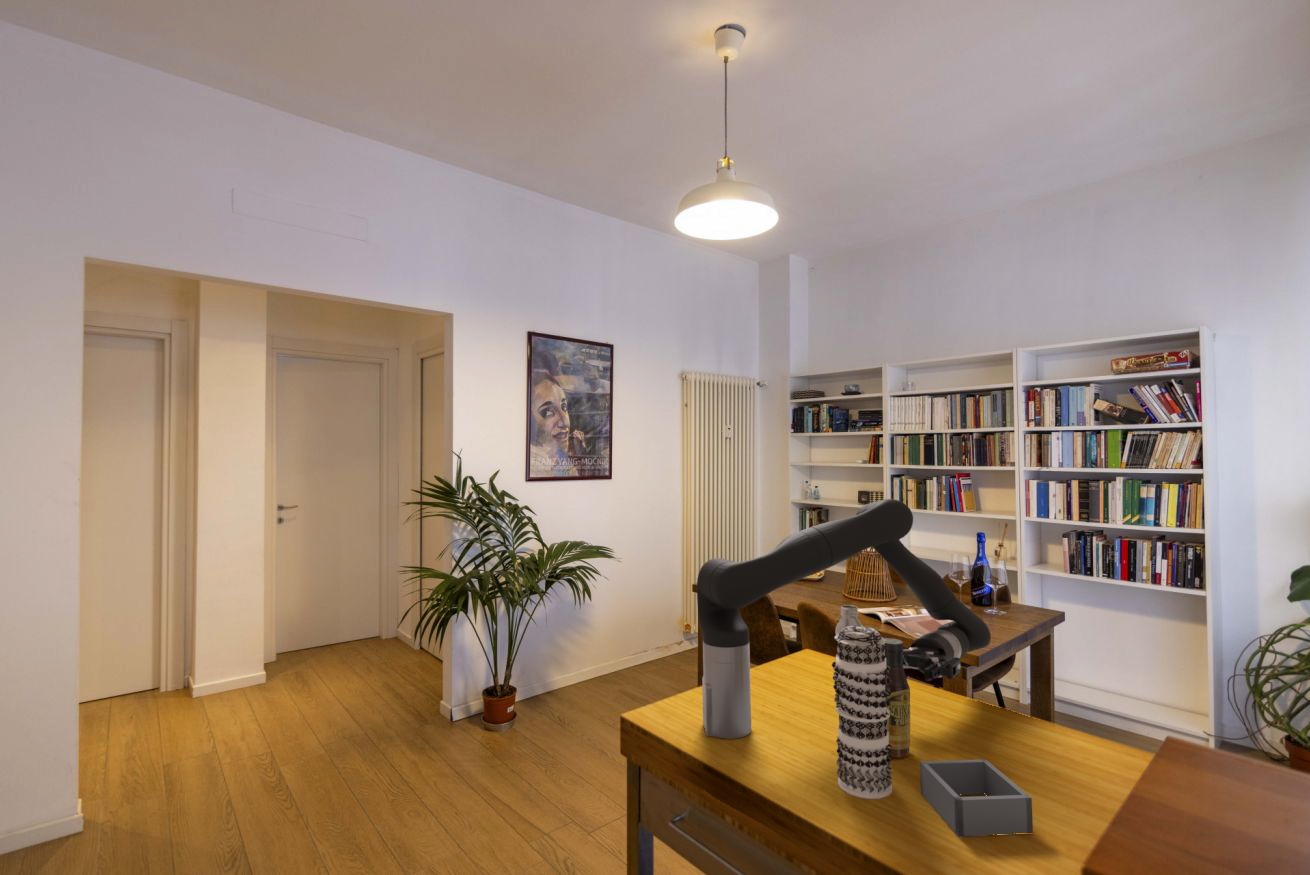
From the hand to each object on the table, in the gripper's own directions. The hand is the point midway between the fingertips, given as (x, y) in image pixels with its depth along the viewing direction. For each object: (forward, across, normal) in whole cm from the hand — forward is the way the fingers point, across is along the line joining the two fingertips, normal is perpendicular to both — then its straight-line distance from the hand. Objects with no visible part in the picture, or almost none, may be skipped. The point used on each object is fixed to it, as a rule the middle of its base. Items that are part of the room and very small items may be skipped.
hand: (903, 670), depth 119 cm
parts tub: (+17, +17, +13) cm, 28 cm away
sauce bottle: (+6, 0, +13) cm, 15 cm away
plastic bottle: (-14, -18, +13) cm, 27 cm away
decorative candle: (+20, +2, +14) cm, 24 cm away
